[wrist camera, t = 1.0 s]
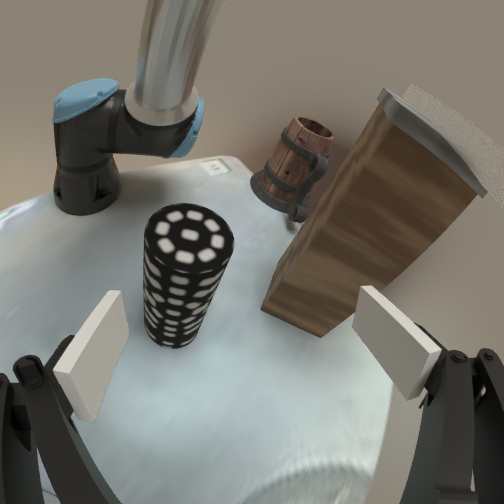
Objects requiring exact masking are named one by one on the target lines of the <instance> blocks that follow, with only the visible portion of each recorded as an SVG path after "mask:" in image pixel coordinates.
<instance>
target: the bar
mask: <svg viewBox="0 0 504 504" xmlns="http://www.w3.org/2000/svg"><path fill="white" fill-rule="evenodd" d="M403 98H404V99H405V100H406V101H408V102H409V103H410V104H411V105H412V106H413V107H414V108H415V109H416V110H417V111H418V112H419V113H420V114H421V115H422V116H423V117H424V118H425V119H426V120H427V121H428V122H429V123H430V124H431V125H432V126H433V127H434V128H435V129H436V130H437V131H438V132H439V133H440V134H441V135H442V136H443V137H444V139H445V140H446V141H447V142H448V143H449V144H450V145H451V146H452V148H453V149H454V150H455V151H456V152H457V154H458V155H459V156H460V157H461V158H462V160H463V161H464V162H465V163H466V165H467V166H468V167H469V169H470V170H471V171H472V172H473V174H474V175H475V176H476V178H477V179H478V181H479V182H480V183H481V185H482V186H483V187H484V188H485V189H486V190H487V191H488V192H489V193H490V195H491V196H492V197H493V198H494V199H495V200H496V201H497V202H498V204H499V205H500V206H501V207H502V208H503V209H504V149H503V148H502V147H501V146H500V145H498V144H497V143H496V142H495V141H494V140H492V139H491V138H490V137H489V136H488V135H487V134H485V133H484V132H483V131H482V130H480V129H479V128H478V127H477V126H475V125H474V124H473V123H471V122H470V121H469V120H467V119H466V118H465V117H463V116H462V115H460V114H459V113H457V112H456V111H455V110H453V109H452V108H450V107H449V106H447V105H446V104H444V103H443V102H441V101H439V100H438V99H436V98H435V97H433V96H431V95H430V94H428V93H426V92H425V91H423V90H421V89H419V88H418V87H416V86H414V85H412V84H410V86H409V87H408V89H407V91H406V93H405V94H404V96H403Z"/></svg>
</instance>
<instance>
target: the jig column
mask: <svg viewBox="0 0 504 504" xmlns="http://www.w3.org/2000/svg"><path fill="white" fill-rule="evenodd" d="M377 100H378V101H379V105H378V107H377V108H376V110H375V112H374V113H373V115H372V117H371V118H370V120H369V122H368V123H367V125H366V127H365V128H364V130H363V131H362V133H361V135H360V136H359V138H358V140H357V141H356V143H355V144H354V146H353V148H352V149H351V151H350V153H349V154H348V156H347V157H346V159H345V160H344V162H343V164H342V165H341V167H340V169H339V170H338V172H337V173H336V175H335V176H334V178H333V180H332V181H331V183H330V184H329V186H328V188H327V189H326V191H325V192H324V194H323V195H322V197H321V198H320V200H319V201H318V203H317V204H316V206H315V208H314V209H313V211H312V212H311V214H310V215H309V217H308V218H307V220H306V221H305V223H304V224H303V226H302V227H301V229H300V230H299V232H298V233H297V235H296V236H295V238H294V239H293V241H292V242H291V244H290V245H289V247H288V248H287V250H286V251H285V253H284V254H283V256H282V257H281V259H280V260H279V262H278V265H277V267H276V270H275V273H274V275H273V278H272V281H271V283H270V286H269V289H268V291H267V294H266V296H265V299H264V302H263V304H262V307H261V309H260V310H262V311H264V312H266V313H268V314H270V315H272V316H275V317H277V318H279V319H281V320H283V321H285V322H287V323H289V324H292V325H294V326H296V327H298V328H300V329H302V330H305V331H307V332H309V333H311V334H313V335H316V336H318V337H320V338H321V337H322V336H324V335H325V334H327V333H328V332H329V331H331V330H332V329H333V328H335V327H336V326H337V325H339V324H340V323H341V322H343V321H344V320H345V319H347V318H348V317H349V316H350V315H352V314H353V313H354V312H355V311H356V306H357V301H358V296H359V291H360V286H371V285H372V286H373V287H374V288H375V289H376V290H377V291H378V292H380V291H381V290H382V289H384V288H385V287H386V286H387V285H388V284H389V283H390V282H392V281H393V280H394V279H395V278H396V277H397V276H399V275H400V274H401V273H402V272H403V271H404V270H405V269H406V268H407V267H408V266H410V265H411V264H412V263H413V262H414V261H415V260H416V259H417V258H418V257H419V256H420V255H421V254H422V253H423V252H424V251H425V250H426V249H427V248H428V247H429V246H430V245H431V244H432V243H433V242H434V241H435V240H436V239H437V238H438V237H439V236H440V235H441V234H442V233H443V232H444V231H445V230H446V229H447V228H448V227H449V226H450V225H451V224H452V223H453V222H454V221H455V219H456V218H457V217H458V216H459V215H460V214H461V213H462V212H463V211H464V210H465V208H466V207H467V206H468V205H469V204H470V203H471V202H472V200H473V199H474V198H475V197H476V196H477V194H478V195H480V197H481V198H483V197H484V196H485V195H486V194H487V192H488V191H487V190H486V189H485V188H484V187H483V186H482V185H481V183H480V182H479V181H478V179H477V178H476V176H475V175H474V174H473V172H472V171H471V170H470V169H469V167H468V166H467V165H466V163H465V162H464V161H463V160H462V158H461V157H460V156H459V155H458V154H457V152H456V151H455V150H454V149H453V148H452V146H451V145H450V144H449V143H448V142H447V141H446V140H445V139H444V137H443V136H442V135H441V134H440V133H439V132H438V131H437V130H436V129H435V128H434V127H433V126H432V125H431V124H430V123H429V122H428V121H427V120H426V119H425V118H424V117H423V116H422V115H421V114H420V113H419V112H418V111H417V110H416V109H415V108H414V107H412V106H411V105H410V104H408V103H407V102H405V101H404V100H402V99H401V98H400V97H398V96H396V95H395V94H393V93H392V92H391V91H389V90H387V89H386V88H383V90H382V91H381V93H380V95H379V96H378V98H377Z"/></svg>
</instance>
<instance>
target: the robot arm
mask: <svg viewBox="0 0 504 504" xmlns="http://www.w3.org/2000/svg"><path fill="white" fill-rule="evenodd" d="M226 1H227V0H146V4H145V9H144V15H143V21H142V28H141V33H140V41H139V49H138V57H137V68H136V79H135V81H134V82H133V83H132V84H131V85H130V86H129V88H128V89H127V90H120V89H119V85H118V81H116V80H115V79H110V78H99V79H93V80H87V81H84V82H80V83H78V84H75V85H73V86H71V87H69V88H67V89H65V90H64V91H62V92H61V93H60V94H59V95H58V96H57V98H56V100H55V102H54V114H53V115H54V116H53V123H54V137H55V148H56V157H57V170H56V176H55V181H54V188H53V192H54V197H55V201H56V204H57V205H58V207H59V208H60V209H62V210H63V211H65V212H67V213H70V214H75V215H86V214H91V213H95V212H98V211H100V210H102V209H104V208H106V207H108V206H109V205H110V204H112V203H113V202H114V201H115V199H116V198H117V197H118V195H119V192H120V174H119V172H118V169H117V166H116V163H115V161H114V158H113V153H117V154H133V155H134V154H135V155H146V156H156V157H162V158H182V157H185V156H186V155H187V154H188V153H189V152H190V151H191V149H192V148H193V146H194V144H195V141H196V139H197V135H198V132H199V130H200V127H201V124H202V120H203V115H204V101H203V100H202V99H201V98H199V95H198V91H197V89H196V87H195V86H194V83H195V80H196V77H197V74H198V71H199V68H200V65H201V63H202V60H203V57H204V54H205V52H206V49H207V46H208V44H209V41H210V39H211V36H212V34H213V31H214V29H215V26H216V24H217V22H218V19H219V17H220V15H221V12H222V10H223V8H224V6H225V3H226ZM352 328H353V329H354V330H355V332H356V333H357V334H358V336H359V337H360V338H361V340H362V341H363V342H364V343H365V345H366V346H367V347H368V349H369V350H370V351H371V353H372V354H373V355H374V357H375V358H376V359H377V361H378V362H379V363H380V365H381V366H382V367H383V369H384V370H385V371H386V373H387V374H388V376H389V377H390V378H391V380H392V381H393V382H394V384H395V385H396V386H397V388H398V389H399V391H400V392H401V393H402V395H403V396H404V398H405V399H406V400H407V401H408V400H410V399H413V398H416V397H419V395H420V394H421V392H422V390H423V388H424V387H425V388H426V389H427V391H428V392H427V394H426V395H425V397H424V399H423V401H422V402H421V404H420V406H419V408H421V407H422V405H424V407H423V414H422V420H421V426H420V431H419V436H418V441H417V445H416V450H415V454H414V458H413V462H412V466H411V470H410V473H409V476H408V480H407V483H406V486H405V489H404V492H403V495H402V498H401V501H400V504H504V366H503V364H502V362H501V360H500V359H499V357H498V355H497V354H496V353H495V352H494V351H493V350H490V349H486V348H483V349H481V350H480V351H479V353H478V355H477V357H476V358H468V357H467V356H466V354H464V353H462V352H460V351H457V350H451V351H448V350H447V349H446V348H445V347H443V346H442V345H441V344H440V343H439V342H438V341H437V340H436V339H435V338H433V336H432V335H431V334H429V333H428V332H427V331H426V330H425V329H424V328H423V327H422V326H420V325H418V324H416V323H414V322H412V321H411V320H410V319H409V318H408V317H406V316H405V315H404V314H403V313H402V312H401V311H400V310H399V309H398V308H396V307H395V306H394V305H393V304H392V303H391V302H390V301H388V299H386V298H385V297H384V296H383V295H382V294H381V293H380V292H378V291H377V290H376V289H375V288H374V287H373V286H372V285H371V286H360V291H359V296H358V301H357V306H356V311H355V315H354V320H353V324H352ZM129 335H130V332H129V327H128V323H127V318H126V313H125V308H124V302H123V297H122V291H116V290H109V291H108V292H107V293H106V295H105V296H104V297H103V298H102V300H101V301H100V302H99V304H98V305H97V306H96V308H95V309H94V310H93V312H92V313H91V314H90V316H89V317H88V319H87V320H86V321H85V323H84V324H83V326H82V327H81V328H80V330H79V331H78V333H77V334H76V335H69V336H68V337H67V338H65V339H64V340H62V342H61V343H60V345H59V346H58V349H56V350H55V352H54V354H53V355H52V356H51V357H50V359H49V360H48V362H47V363H46V365H45V366H44V367H43V364H42V362H41V360H40V359H39V357H37V356H35V355H27V356H23V357H21V358H20V359H18V360H17V361H16V362H15V364H14V365H13V371H14V373H15V375H16V377H17V379H18V381H19V383H10V381H9V379H8V378H7V376H6V375H5V374H3V373H0V504H45V502H44V497H43V492H42V487H41V481H40V474H39V467H38V458H37V448H38V451H39V454H40V457H41V460H42V462H43V465H44V467H45V470H46V472H47V475H48V477H49V480H50V482H51V484H52V486H53V489H54V491H55V493H56V495H57V497H58V499H59V501H60V503H61V504H121V503H120V501H119V500H118V499H117V497H116V496H115V494H114V493H113V492H112V490H111V489H110V487H109V486H108V484H107V482H106V481H105V479H104V478H103V476H102V475H101V473H100V471H99V470H98V468H97V466H96V465H95V463H94V461H93V459H92V458H91V456H90V454H89V452H88V450H87V448H86V446H85V445H84V443H83V441H82V439H81V437H80V435H79V433H78V430H77V428H76V426H75V424H74V422H73V420H72V419H71V415H72V412H73V410H74V412H75V414H76V416H77V417H78V419H80V420H85V421H89V422H95V419H96V416H97V414H98V411H99V408H100V405H101V403H102V400H103V397H104V395H105V392H106V390H107V387H108V385H109V382H110V380H111V377H112V375H113V372H114V370H115V367H116V365H117V362H118V360H119V358H120V355H121V353H122V351H123V348H124V346H125V344H126V342H127V339H128V337H129ZM484 386H485V388H486V392H485V394H484V395H483V396H482V393H481V391H482V390H483V388H484ZM36 445H37V446H36ZM472 469H473V474H474V483H475V492H473V491H471V489H470V486H471V478H472Z"/></svg>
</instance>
